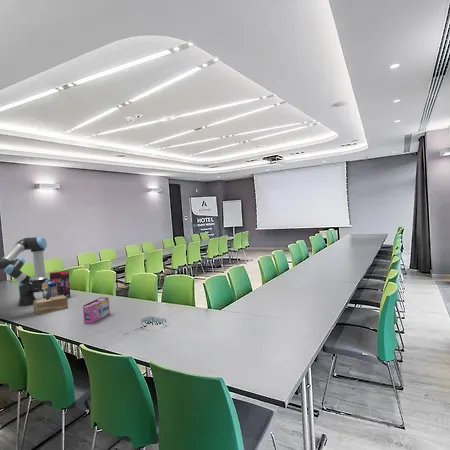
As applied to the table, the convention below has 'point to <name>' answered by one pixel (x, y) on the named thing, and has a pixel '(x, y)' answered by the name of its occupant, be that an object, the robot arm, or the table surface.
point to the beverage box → (50, 288)
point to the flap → (44, 298)
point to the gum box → (96, 310)
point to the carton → (51, 305)
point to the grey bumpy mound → (153, 320)
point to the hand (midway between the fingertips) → (44, 292)
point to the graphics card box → (61, 282)
